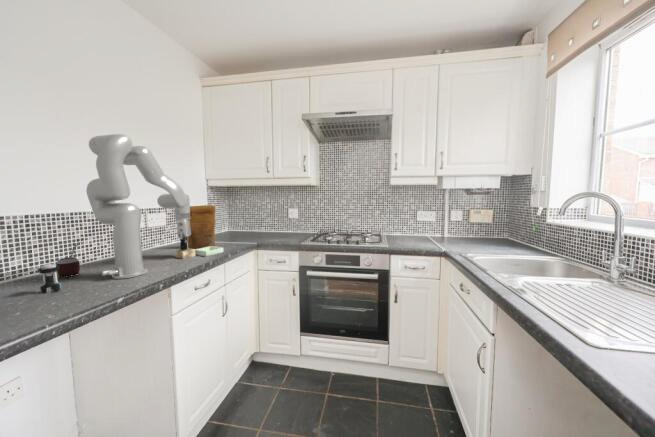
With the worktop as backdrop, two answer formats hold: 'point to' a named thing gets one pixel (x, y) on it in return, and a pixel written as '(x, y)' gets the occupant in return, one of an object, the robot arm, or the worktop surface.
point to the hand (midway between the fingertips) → (185, 248)
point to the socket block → (185, 253)
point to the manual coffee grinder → (68, 265)
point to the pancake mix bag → (202, 227)
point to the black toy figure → (49, 278)
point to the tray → (209, 251)
